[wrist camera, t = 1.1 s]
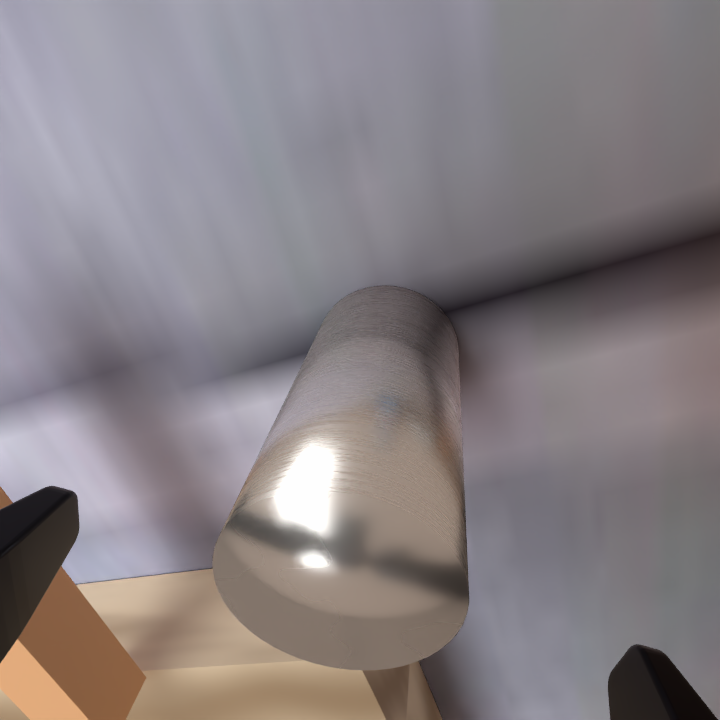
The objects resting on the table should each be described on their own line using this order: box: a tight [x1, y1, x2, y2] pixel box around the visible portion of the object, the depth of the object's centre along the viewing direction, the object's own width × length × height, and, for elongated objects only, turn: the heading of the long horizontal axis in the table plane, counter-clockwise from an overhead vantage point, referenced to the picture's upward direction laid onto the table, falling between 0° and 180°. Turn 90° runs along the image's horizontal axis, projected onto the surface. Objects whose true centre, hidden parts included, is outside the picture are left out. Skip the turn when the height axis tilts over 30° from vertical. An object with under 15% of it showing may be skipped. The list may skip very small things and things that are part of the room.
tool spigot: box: [212, 286, 469, 670], centre depth 12 cm, size 4×4×8 cm
